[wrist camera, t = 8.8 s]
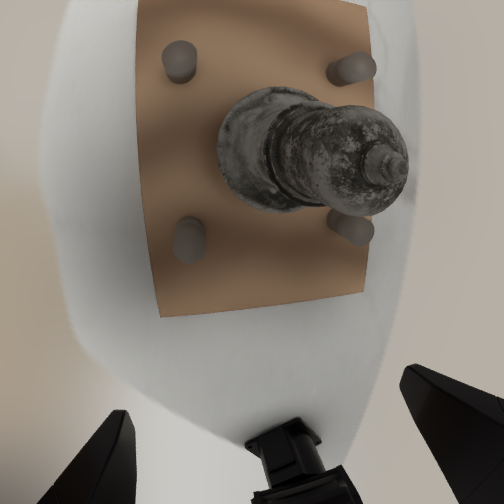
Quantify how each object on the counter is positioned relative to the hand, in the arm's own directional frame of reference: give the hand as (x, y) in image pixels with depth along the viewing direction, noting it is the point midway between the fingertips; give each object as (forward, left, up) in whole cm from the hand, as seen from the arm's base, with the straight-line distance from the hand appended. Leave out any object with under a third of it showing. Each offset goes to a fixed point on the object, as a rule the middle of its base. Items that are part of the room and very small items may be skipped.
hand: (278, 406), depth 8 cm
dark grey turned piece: (+5, -5, -11) cm, 13 cm away
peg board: (+5, -5, -13) cm, 14 cm away
